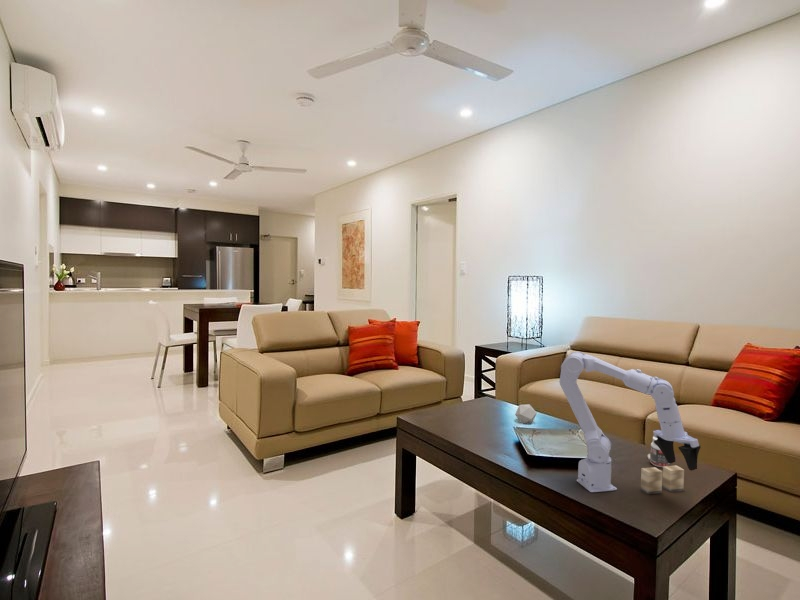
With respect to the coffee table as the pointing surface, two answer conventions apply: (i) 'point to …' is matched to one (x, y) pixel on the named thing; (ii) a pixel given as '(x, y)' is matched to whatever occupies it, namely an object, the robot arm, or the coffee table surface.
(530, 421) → the die
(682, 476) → the beech tile
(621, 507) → the coffee table surface
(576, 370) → the robot arm
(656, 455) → the pill bottle
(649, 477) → the beech tile
